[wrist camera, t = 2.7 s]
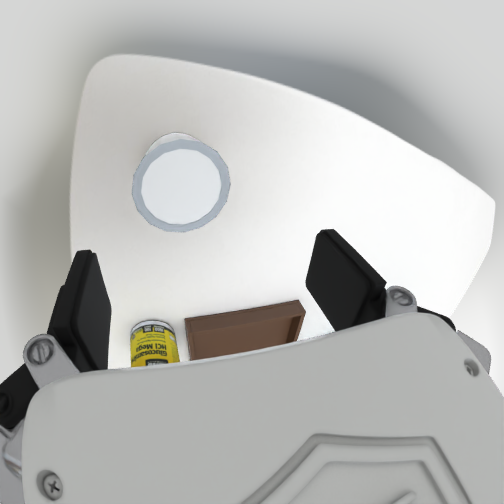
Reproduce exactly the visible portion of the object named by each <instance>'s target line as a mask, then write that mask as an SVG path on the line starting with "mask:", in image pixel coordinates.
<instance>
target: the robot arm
mask: <svg viewBox="0 0 504 504" xmlns="http://www.w3.org/2000/svg"><path fill="white" fill-rule="evenodd" d="M386 283H387V282H386V281H385V280H384V279H383V278H382V277H381V276H380V275H379V274H378V273H377V272H376V271H375V270H374V268H373V267H372V266H371V265H370V264H369V263H368V262H367V261H366V260H365V259H364V258H363V257H362V256H361V255H360V254H359V253H358V252H357V251H356V250H355V249H354V248H353V247H352V246H351V245H350V244H349V243H348V242H347V241H346V240H345V239H344V238H343V237H342V236H340V235H339V234H338V233H337V232H336V231H335V230H334V229H326V230H321V231H320V233H318V234H317V236H316V240H315V244H314V248H313V252H312V257H311V261H310V265H309V269H308V273H307V277H306V287H307V289H308V290H309V292H310V293H311V295H312V296H313V298H314V299H315V301H316V302H317V304H318V305H319V307H320V308H321V310H322V311H323V313H324V314H325V316H326V317H327V319H328V320H329V322H330V324H331V325H332V327H333V328H334V330H335V331H336V332H332V333H329V334H325V335H321V336H317V337H313V338H309V339H304V340H300V341H296V342H292V343H287V344H283V345H278V346H273V347H268V348H264V349H259V350H253V351H248V352H243V353H237V354H231V355H225V356H219V357H213V358H207V359H200V360H193V361H185V362H177V363H169V364H159V365H150V366H141V367H130V368H118V369H108V348H109V333H110V322H111V304H110V300H109V297H108V294H107V291H106V288H105V284H104V281H103V277H102V274H101V270H100V266H99V263H98V259H97V255H96V253H92V251H91V250H81V251H77V252H76V255H75V257H74V260H73V262H72V265H71V268H70V271H69V274H68V276H67V279H66V282H65V285H63V286H61V288H60V291H59V293H58V297H57V300H56V303H55V306H54V309H53V313H52V316H51V320H50V323H49V328H48V331H47V334H40V335H37V336H35V337H33V338H32V339H30V340H29V341H28V343H27V344H26V346H25V348H24V351H23V358H24V362H25V363H24V364H23V365H22V366H21V367H20V368H19V369H17V370H16V371H15V372H14V373H13V374H11V375H10V376H9V377H8V378H7V379H6V380H5V381H4V382H3V383H1V384H0V503H1V504H504V397H503V396H502V394H501V393H500V391H499V389H498V388H497V386H496V385H495V383H494V382H493V380H492V379H491V377H490V376H489V370H490V364H491V355H490V353H489V351H488V350H487V349H486V348H485V347H484V346H482V345H481V344H480V343H478V342H476V341H475V340H473V339H472V338H470V337H469V336H467V335H465V334H464V333H462V332H461V331H459V330H458V331H457V332H456V329H455V326H454V324H453V323H452V321H451V320H450V319H449V318H448V317H446V316H443V315H440V314H438V313H435V312H432V311H430V310H427V309H424V308H421V307H419V306H417V302H416V298H415V297H414V295H413V294H412V293H411V292H410V291H409V290H407V289H405V288H403V287H400V286H391V287H389V288H388V289H387V290H386V289H385V288H384V287H385V285H386Z"/></svg>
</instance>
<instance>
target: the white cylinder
mask: <svg viewBox="0 0 504 504" xmlns="http://www.w3.org/2000/svg"><path fill="white" fill-rule="evenodd" d="M230 185H231V184H230V178H229V172H228V167H227V165H226V164H225V162H224V161H223V159H222V158H221V157H220V155H219V154H218V152H217V151H215V150H214V149H212V148H210V147H209V146H207V145H205V144H204V143H202V142H200V141H199V140H197V139H195V138H193V137H191V136H190V135H188V134H183V133H171V134H168V135H164V136H162V137H161V138H159V139H158V140H157V141H155V142H154V143H153V144H152V145H151V147H150V148H149V150H148V151H147V153H146V154H145V156H144V157H143V159H142V161H141V163H140V165H139V166H138V168H137V170H136V172H135V174H134V177H133V187H132V196H133V199H134V202H135V204H136V207H137V210H138V212H139V213H140V214H141V215H142V216H143V217H144V218H145V219H146V220H147V221H148V223H149V224H151V225H153V226H155V227H158V228H160V229H162V230H164V231H170V232H187V231H190V230H193V229H197V228H200V227H202V226H204V225H205V224H207V223H208V222H209V221H211V220H212V219H214V218H215V217H216V216H217V215H218V213H219V212H220V210H221V209H222V208H223V206H224V205H225V203H226V202H227V197H228V193H229V189H230Z"/></svg>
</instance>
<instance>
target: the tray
mask: <svg viewBox="0 0 504 504" xmlns="http://www.w3.org/2000/svg"><path fill="white" fill-rule="evenodd" d="M305 313H306V311H305V310H304V308H303V306H302V305H301V303H300V302H299V300H296V301H291V302H286V303H281V304H275V305H270V306H264V307H258V308H253V309H247V310H241V311H235V312H228V313H222V314H215V315H208V316H202V317H194V318H187V319H185V326H186V334H187V341H188V348H189V355H190V361H193V360H200V359H207V358H213V357H219V356H225V355H231V354H237V353H243V352H248V351H253V350H259V349H264V348H268V347H273V346H278V345H283V344H287V343H292V342H296V341H297V339H298V336H299V332H300V329H301V326H302V323H303V320H304V317H305Z"/></svg>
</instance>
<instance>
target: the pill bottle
mask: <svg viewBox="0 0 504 504" xmlns="http://www.w3.org/2000/svg"><path fill="white" fill-rule="evenodd" d="M130 347H131V367H141V366H150V365H159V364H169V363H177V362H180V360H179V354H178V349H177V343H176V337H175V333H174V331H173V329H172V328H171V327H170V326H169V325H167V324H166V323H163V322H160V321H145V322H142V323H140V324H138V325H136V326H135V327H134V328H133V330H132V332H131V337H130Z"/></svg>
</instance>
